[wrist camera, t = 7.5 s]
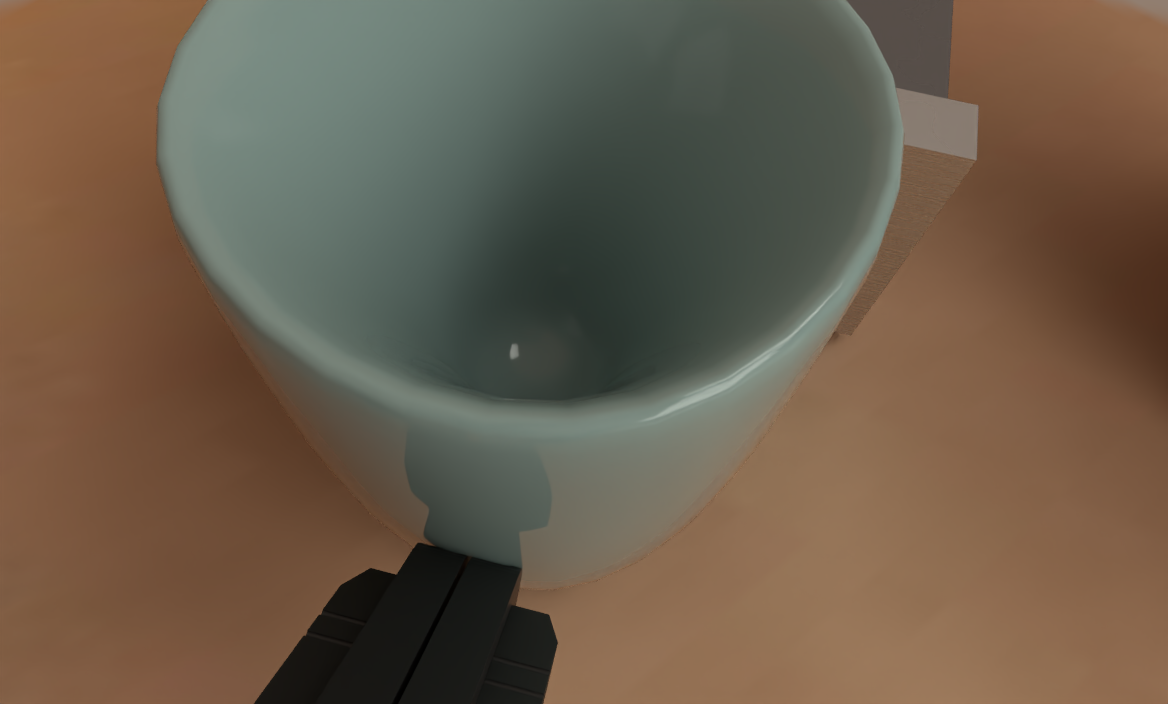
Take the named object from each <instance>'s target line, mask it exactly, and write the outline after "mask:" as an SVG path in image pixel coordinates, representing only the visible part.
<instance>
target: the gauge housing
mask: <svg viewBox="0 0 1168 704" xmlns="http://www.w3.org/2000/svg"><path fill="white" fill-rule="evenodd" d="M846 1H847V2H848V3H849V4H850V5H851V7H852V8H853V9H854V10H855V12H856V13H857V14H858V15H859V16H860V18H861V19H862V20H863V21H864V22H865V24H866V25H867V26H868V27H869V29H870V31H871V33H872V35H873V37H874V39H875V41H876V43H877V45H878V47H879V49H880V51H881V53H882V55H883V57H884V59H885V61H886V63H887V65H888V67H889V69H890V71H891V73H892V75H893V78H894V81H895V85H896V88H900V89H904V90H909V91H914V92H918V93H923V94H928V95H932V96H937V97H942V98H946V99H948V85H949V67H950V50H951V32H952V14H953V0H846Z"/></svg>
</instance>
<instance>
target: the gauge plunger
mask: <svg viewBox="0 0 1168 704" xmlns="http://www.w3.org/2000/svg"><path fill="white" fill-rule="evenodd" d="M896 90H897V95H898V101H899V106H900V111H901V116H902V122H903V127H904V132H905V139H904V149H903V160H902V171H901V182H900V190H899V194H898V197H897V201H896V205H895V208H894V210H893V213H892V216H891V219H890V222H889V224H888V227H887V230H886V233H885V235H884V238H883V241H882V244H881V246H880V249H879V252H878V255H877V258H876V260H875V263H874V265H873V267H872V269H871V271H870V273H869V275H868V277H867V279H866V281H865V283H864V285H863V286H862V288H861V290H860V291H859V293H858V295H857V296H856V298H855V300H854V301H853V303H852V305H851V306H850V308H849V309H848V311H847V313H846V314H845V316H844V317H843V319H842V320H841V322H840V324H839V325H838V327H837V328H836V330H835V331H834V332H837V333H842V334H846V335H850V336H851V334H852V333H853V332H854V330H855V329H856V327H857V326H858V325H859V323H860V322H861V320H862V319H863V318H864V316H865V315H866V313H867V312H868V311H869V309H870V308H871V307H872V305H873V304H874V302H875V301H876V300H877V298H878V297H879V295H880V294H881V293H882V291H883V290H884V288H885V287H886V286H887V284H888V283H889V281H890V280H891V279H892V277H893V276H894V275H895V273H896V272H897V270H898V269H899V268H900V266H901V265H902V263H903V262H904V261H905V259H906V258H907V256H908V255H909V254H910V252H911V251H912V249H913V248H914V247H915V245H916V244H917V243H918V241H919V240H920V238H921V237H922V236H923V234H924V233H925V231H926V230H927V229H928V227H929V226H930V224H931V223H932V222H933V220H934V219H935V217H936V216H937V215H938V213H939V212H940V211H941V209H942V208H943V206H944V205H945V204H946V202H947V201H948V199H949V198H950V197H951V195H952V194H953V192H954V191H955V190H956V188H957V187H958V185H959V184H960V183H961V181H962V180H963V179H964V177H965V176H966V174H967V173H968V172H969V170H970V169H971V167H972V166H973V165H974V163H975V162H976V160H977V135H978V106H979V105H974V104H969V103H965V102H960V101H955V100H951V99H946V98H942V97H937V96H932V95H928V94H923V93H918V92H914V91H909V90H904V89H900V88H896Z"/></svg>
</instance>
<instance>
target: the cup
mask: <svg viewBox="0 0 1168 704" xmlns="http://www.w3.org/2000/svg"><path fill="white" fill-rule="evenodd" d="M904 139H905V132H904V127H903V122H902V116H901V111H900V106H899V101H898V95H897V90H896V85H895V81H894V78H893V75H892V73H891V71H890V69H889V67H888V65H887V63H886V61H885V59H884V57H883V55H882V53H881V51H880V49H879V47H878V45H877V43H876V41H875V39H874V37H873V35H872V33H871V31H870V29H869V27H868V26H867V25H866V24H865V22H864V21H863V20H862V19H861V18H860V16H859V15H858V14H857V13H856V12H855V10H854V9H853V8H852V7H851V5H850V4H849V3H848V2H847V1H846V0H208V1H207V2H206V4H205V5H204V7H203V8H202V10H201V11H200V13H199V14H198V16H197V17H196V19H195V20H194V22H193V24H192V25H191V27H190V28H189V30H188V31H187V33H186V34H185V36H184V37H183V39H182V40H181V42H180V43H179V45H178V46H177V49H176V52H175V55H174V57H173V60H172V63H171V66H170V69H169V72H168V75H167V78H166V81H165V84H164V87H163V90H162V93H161V96H160V99H159V102H158V105H157V125H156V165H157V169H158V172H159V176H160V180H161V183H162V187H163V190H164V193H165V197H166V200H167V203H168V207H169V210H170V213H171V217H172V220H173V224H174V227H175V230H176V234H177V237H178V240H179V242H180V244H181V246H182V248H183V250H184V252H185V254H186V256H187V258H188V260H189V262H190V263H191V265H192V267H193V268H194V270H195V272H196V273H197V275H198V277H199V278H200V280H201V282H202V283H203V285H204V287H205V288H206V290H207V292H208V293H209V295H210V297H211V298H212V300H213V302H214V303H215V305H216V307H217V308H218V310H219V312H220V313H221V315H222V317H223V318H224V320H225V322H226V323H227V325H228V327H229V328H230V330H231V332H232V333H233V335H234V337H235V338H236V340H237V342H238V343H239V345H240V346H241V348H242V349H243V351H244V352H245V354H246V355H247V357H248V358H249V360H250V361H251V363H252V364H253V366H254V367H255V369H256V370H257V372H258V373H259V375H260V376H261V377H262V379H263V380H264V382H265V383H266V385H267V386H268V388H269V389H270V391H271V392H272V393H273V395H274V396H275V398H276V399H277V401H278V402H279V403H280V405H281V406H282V408H283V409H284V411H285V412H286V413H287V415H288V416H289V418H290V419H291V420H292V422H293V423H294V425H295V426H296V427H297V429H298V430H299V432H300V433H301V434H302V436H303V437H304V438H305V440H306V441H307V442H308V444H309V445H310V446H311V447H312V449H313V450H314V451H315V452H316V454H317V455H318V456H319V458H320V459H321V460H322V461H323V462H324V463H325V465H326V466H327V467H328V468H329V469H330V470H331V471H332V472H333V474H334V475H335V476H336V477H337V478H338V479H339V480H340V481H341V482H342V483H343V485H344V486H345V487H346V488H347V489H348V490H349V491H350V492H351V493H352V494H353V495H354V496H355V498H356V499H357V500H358V501H359V502H360V503H361V504H362V505H363V506H364V507H365V508H366V510H367V511H368V512H369V513H370V514H371V515H373V516H374V517H375V518H376V519H377V520H378V521H379V522H380V523H381V524H383V525H384V526H385V527H387V528H388V529H389V530H391V531H392V532H393V533H395V534H396V535H397V536H399V537H400V538H401V539H403V540H404V541H405V542H407V543H408V544H409V545H411V546H412V547H413V548H414V547H415V545H416V544H417V543H419V542H420V543H423V544H427V545H431V546H435V547H439V548H442V549H445V550H447V551H451V552H455V553H459V554H463V555H466V556H467V557H468V559H469V560H470V558H471V557H474V558H478V559H482V560H486V561H489V562H493V563H497V564H501V565H506V566H512V567H516V568H520V569H522V577H521V582H520V587H519V589H538V590H557V589H562V588H566V587H571V586H576V585H581V584H585V583H590V582H595V581H598V580H600V579H602V578H604V577H607V576H609V575H611V574H613V573H615V572H617V571H620V570H622V569H624V568H626V567H628V566H630V565H633V564H635V563H637V562H638V561H640V560H642V559H643V558H645V557H646V556H648V555H649V554H650V553H652V552H653V551H654V550H656V549H657V548H659V547H660V546H661V545H663V544H664V543H665V542H667V541H668V540H670V539H671V538H672V537H674V536H675V535H676V534H678V533H679V532H681V531H682V530H683V529H684V528H685V527H686V526H687V525H688V524H689V523H691V522H692V521H693V520H694V519H695V518H696V517H697V515H698V514H699V513H700V512H701V511H702V510H703V509H704V508H705V507H706V506H707V505H708V504H709V503H710V502H711V501H712V500H713V498H714V497H715V496H716V495H717V494H718V493H719V492H720V491H721V490H722V489H723V488H724V487H725V486H726V485H727V483H728V482H729V481H730V480H731V479H732V478H733V477H734V476H735V474H736V473H737V472H738V471H739V470H740V469H741V467H742V466H743V465H744V463H745V462H746V461H747V460H748V458H749V457H750V456H751V454H752V453H753V452H754V451H755V449H756V448H757V446H758V445H759V444H760V442H761V441H762V439H763V438H764V437H765V435H766V434H767V432H768V431H769V430H770V428H771V427H772V425H773V424H774V422H775V421H776V419H777V418H778V416H779V415H780V414H781V412H782V411H783V409H784V408H785V406H786V405H787V403H788V402H789V400H790V399H791V397H792V396H793V394H794V393H795V392H796V390H797V389H798V387H799V386H800V384H801V383H802V381H803V380H804V378H805V377H806V375H807V374H808V372H809V370H810V369H811V367H812V366H813V364H814V363H815V361H816V360H817V358H818V357H819V355H820V353H821V352H822V350H823V349H824V347H825V346H826V344H827V342H828V341H829V339H830V338H831V336H832V335H833V333H834V331H835V330H836V328H837V327H838V325H839V324H840V322H841V320H842V319H843V317H844V316H845V314H846V313H847V311H848V309H849V308H850V306H851V305H852V303H853V301H854V300H855V298H856V296H857V295H858V293H859V291H860V290H861V288H862V286H863V285H864V283H865V281H866V279H867V277H868V275H869V273H870V271H871V269H872V267H873V265H874V263H875V260H876V258H877V255H878V252H879V249H880V246H881V244H882V241H883V238H884V235H885V233H886V230H887V227H888V224H889V222H890V219H891V216H892V213H893V210H894V208H895V205H896V201H897V197H898V194H899V190H900V182H901V171H902V160H903V149H904Z"/></svg>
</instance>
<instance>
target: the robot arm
mask: <svg viewBox="0 0 1168 704" xmlns="http://www.w3.org/2000/svg"><path fill="white" fill-rule="evenodd" d="M521 577H522V569H520V568H516V567H512V566H506V565H501V564H497V563H493V562H489V561H486V560H482V559H478V558H474V557H471V558H470V560H469V559H468V557H467V556H466V555H463V554H459V553H455V552H451V551H447V550H445V549H442V548H439V547H435V546H431V545H427V544H423V543H420V542H419V543H417V544H416V545H415V547H414V548H413V550H412V551H411V553H410V555H409V556H408V558H407V559H406V561H405V563H404V564H403V566H402V567H401V569H400V570H399V572H398V574H397V575H395V574H391V573H388V572H384V571H380V570H376V569H372V568H370V569H368V570H366V571H365V572H363V573H361V574H359V575H358V576H356V577H354V578H352V579H351V580H349V581H347V582H346V583H344V584H342V585H341V586H340V587H339V588H338V590H337V591H336V592H335V594H334V595H333V597H332V598H331V599H330V601H329V602H328V603H327V605H326V606H325V607H324V609H323V611H322V614H321V615H319V616H318V617H317V618H316V620H315V621H314V622H313V624H312V625H311V627H310V628H309V629H308V631H307V634H306V636H303V637H302V639H301V640H300V642H299V643H298V644H297V646H296V647H295V648H294V650H293V651H292V652H291V654H290V655H289V656H288V658H287V659H286V661H285V662H284V663H283V665H282V666H281V667H280V669H279V670H278V671H277V673H276V674H275V676H274V677H273V678H272V680H271V681H270V682H269V684H268V685H267V686H266V688H265V689H264V691H263V692H262V693H261V695H260V696H259V697H258V699H257V700H256V701H255V703H254V704H543V702H544V698H545V694H546V690H547V685H548V681H549V677H550V673H551V669H552V665H553V660H554V656H555V652H556V648H557V644H558V642H557V639H556V635H555V632H554V629H553V626H552V623H551V620H550V616H549V615H548V614H544V613H540V612H536V611H533V610H529V609H525V608H521V607H517V606H516V601H517V596H518V592H519V587H520V582H521Z"/></svg>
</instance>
